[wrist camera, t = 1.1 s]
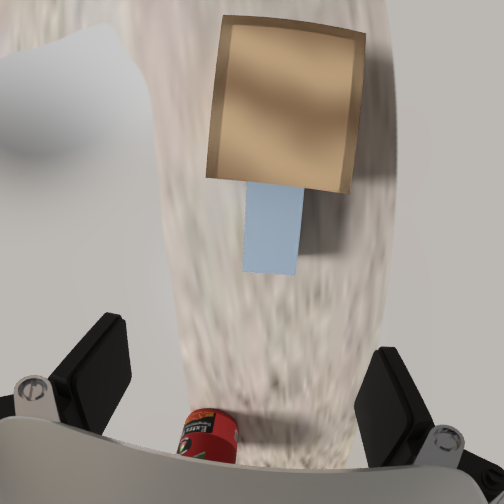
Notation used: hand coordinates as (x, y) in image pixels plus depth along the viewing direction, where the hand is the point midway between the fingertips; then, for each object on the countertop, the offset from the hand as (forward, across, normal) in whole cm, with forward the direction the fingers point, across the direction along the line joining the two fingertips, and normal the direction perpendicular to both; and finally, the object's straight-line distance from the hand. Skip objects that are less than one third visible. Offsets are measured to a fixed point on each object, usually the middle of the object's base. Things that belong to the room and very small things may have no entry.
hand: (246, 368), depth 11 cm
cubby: (+20, -1, -11) cm, 23 cm away
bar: (+21, -1, -4) cm, 21 cm away
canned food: (+22, +4, +30) cm, 37 cm away
